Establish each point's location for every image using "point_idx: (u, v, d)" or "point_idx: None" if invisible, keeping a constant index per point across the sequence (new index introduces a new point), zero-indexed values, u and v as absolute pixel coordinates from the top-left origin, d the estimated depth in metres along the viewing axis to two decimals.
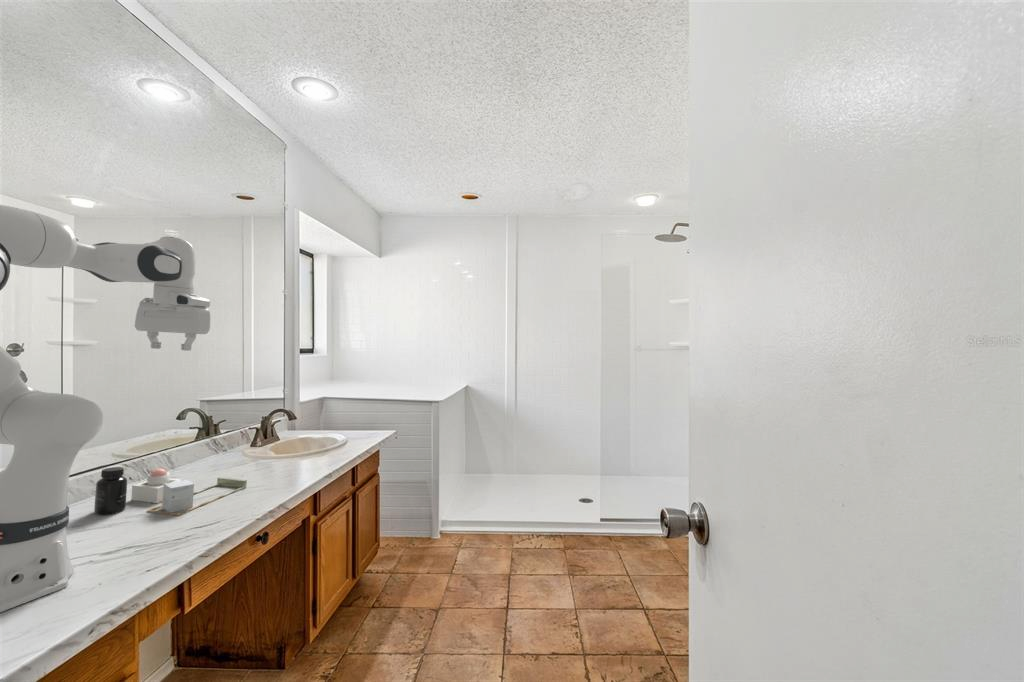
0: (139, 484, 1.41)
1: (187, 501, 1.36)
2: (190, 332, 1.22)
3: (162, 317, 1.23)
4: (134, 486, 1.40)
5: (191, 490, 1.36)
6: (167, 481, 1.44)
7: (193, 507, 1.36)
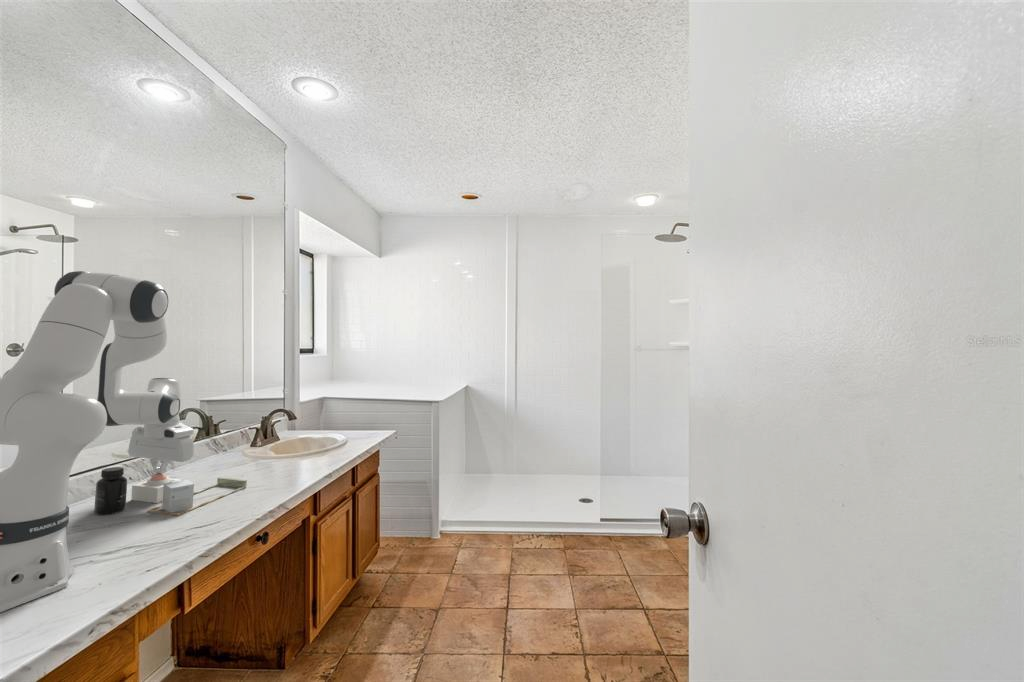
0: (139, 484, 1.41)
1: (187, 501, 1.36)
2: (176, 460, 1.42)
3: (152, 446, 1.43)
4: (134, 486, 1.40)
5: (191, 490, 1.36)
6: None
7: (193, 507, 1.36)
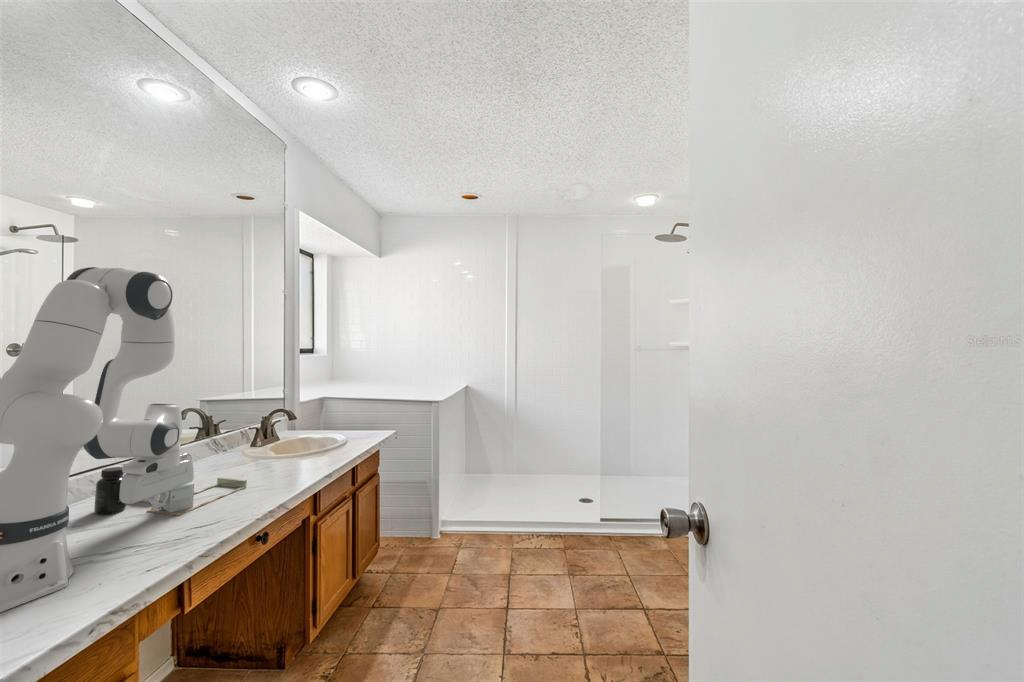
0: None
1: (187, 501, 1.36)
2: None
3: None
4: None
5: (191, 490, 1.36)
6: None
7: (193, 507, 1.36)
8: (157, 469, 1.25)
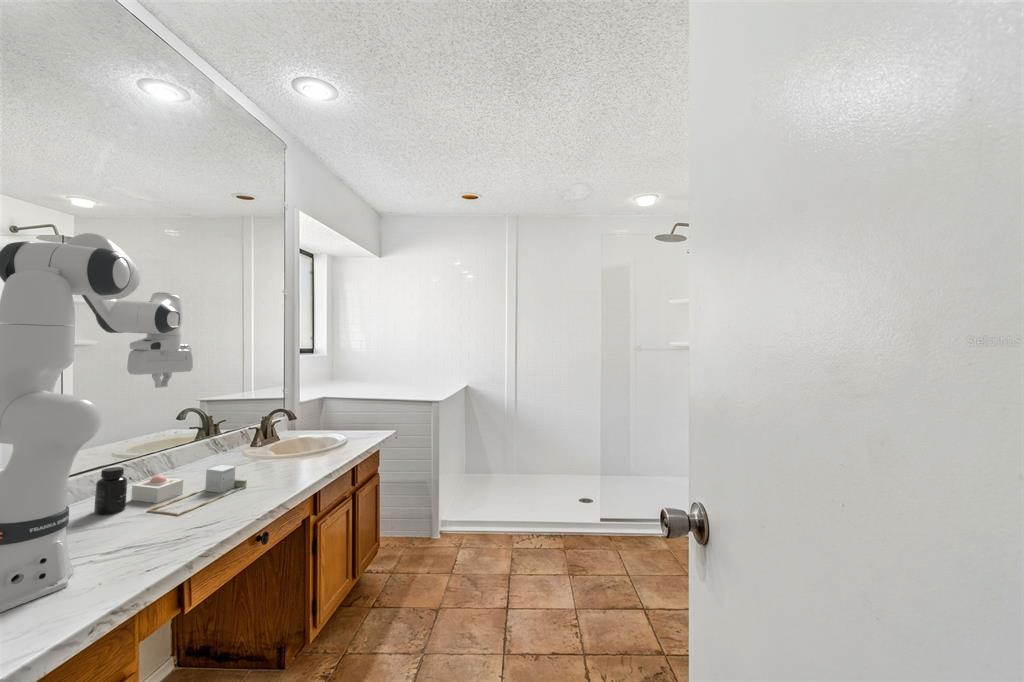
0: (139, 484, 1.41)
1: (231, 482, 1.55)
2: None
3: None
4: (134, 486, 1.40)
5: (234, 472, 1.56)
6: None
7: (193, 507, 1.36)
8: (160, 348, 1.42)
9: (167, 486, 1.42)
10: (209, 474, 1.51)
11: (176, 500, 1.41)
